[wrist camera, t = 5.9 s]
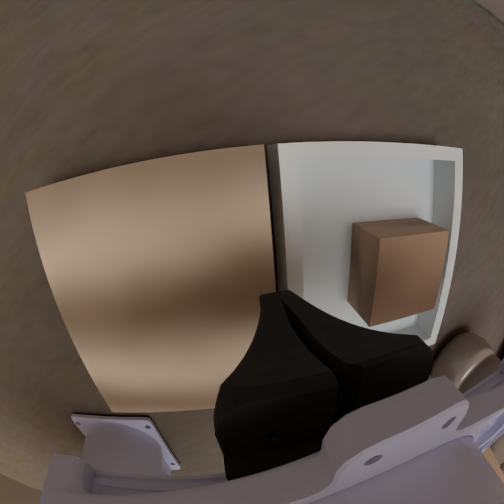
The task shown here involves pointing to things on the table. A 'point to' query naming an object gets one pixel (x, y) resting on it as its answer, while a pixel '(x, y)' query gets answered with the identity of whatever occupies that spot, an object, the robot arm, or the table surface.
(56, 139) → the table surface
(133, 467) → the robot arm
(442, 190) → the box
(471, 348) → the plastic bottle
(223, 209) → the tan wooden flat block
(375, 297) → the brown block
